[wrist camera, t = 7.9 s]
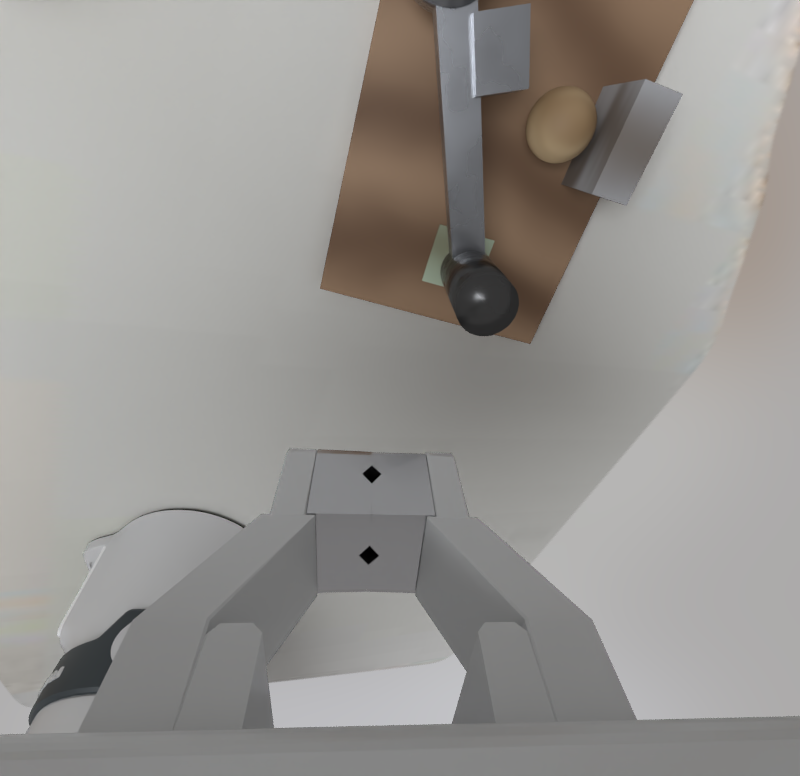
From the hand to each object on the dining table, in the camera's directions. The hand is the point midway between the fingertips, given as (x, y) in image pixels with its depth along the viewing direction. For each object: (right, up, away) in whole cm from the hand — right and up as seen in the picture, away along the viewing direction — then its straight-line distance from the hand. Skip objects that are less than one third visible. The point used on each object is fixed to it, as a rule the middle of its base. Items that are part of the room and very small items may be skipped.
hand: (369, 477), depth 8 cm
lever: (+4, +15, +14) cm, 21 cm away
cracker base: (+5, +15, +18) cm, 24 cm away
